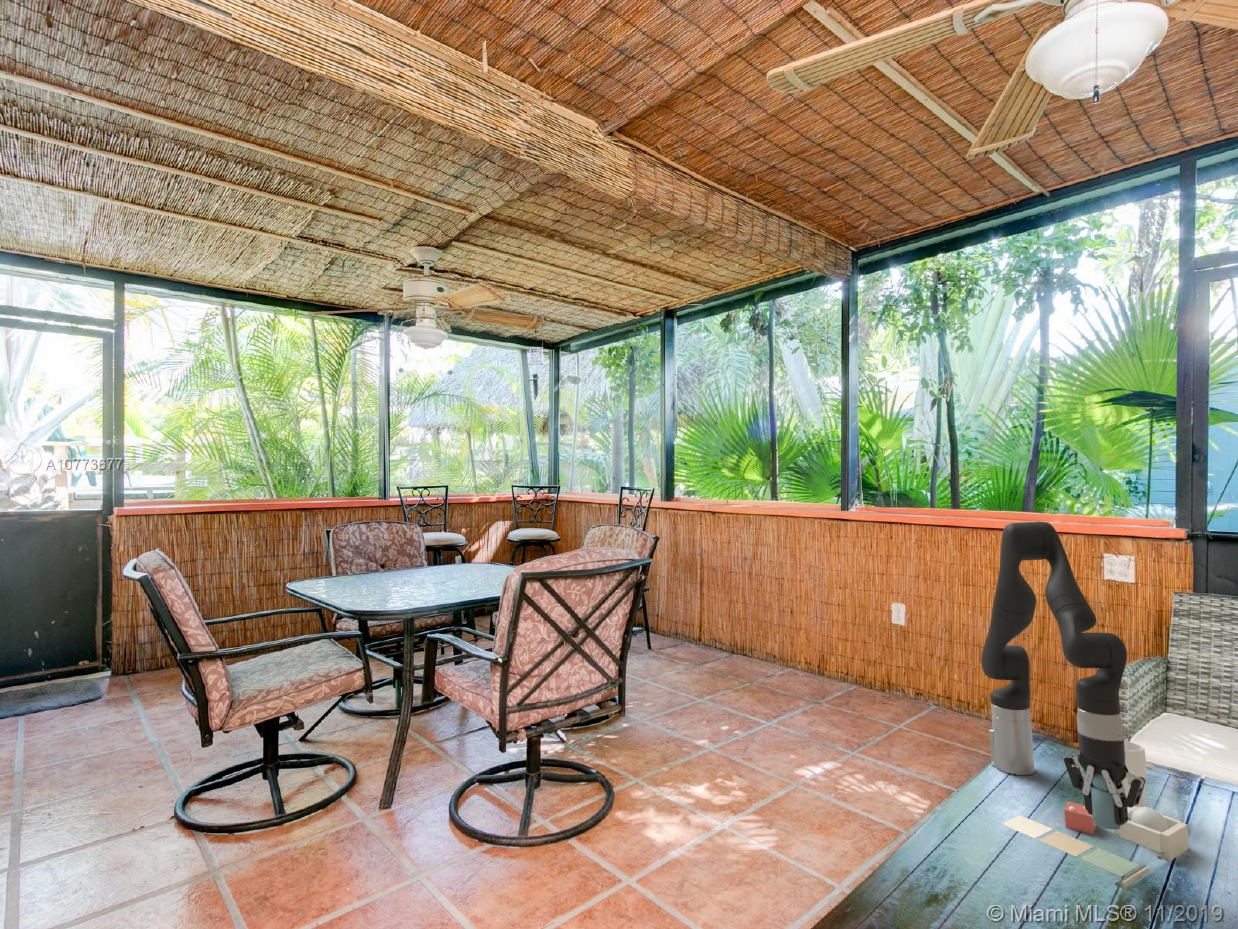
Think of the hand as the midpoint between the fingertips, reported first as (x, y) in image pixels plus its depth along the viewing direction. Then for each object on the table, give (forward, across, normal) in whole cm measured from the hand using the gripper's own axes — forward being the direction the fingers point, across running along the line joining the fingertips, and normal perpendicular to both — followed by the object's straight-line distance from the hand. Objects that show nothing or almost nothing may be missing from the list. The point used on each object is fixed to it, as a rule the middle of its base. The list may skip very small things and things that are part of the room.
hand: (1106, 818), depth 127 cm
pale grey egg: (+9, 0, +17) cm, 20 cm away
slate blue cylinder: (+1, 0, 0) cm, 1 cm away
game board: (+10, -8, 0) cm, 13 cm away
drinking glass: (+10, -9, +30) cm, 33 cm away
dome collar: (+10, 0, +17) cm, 20 cm away
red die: (+10, -10, +10) cm, 17 cm away
